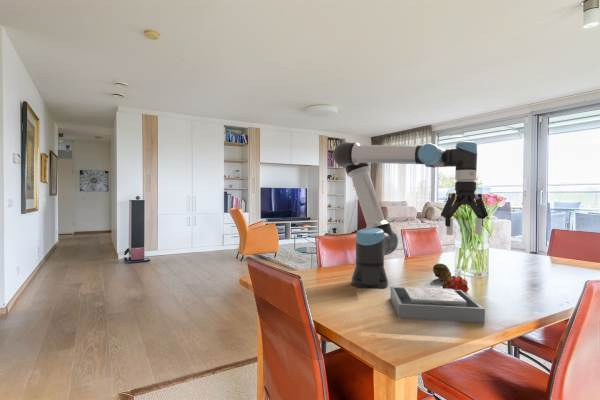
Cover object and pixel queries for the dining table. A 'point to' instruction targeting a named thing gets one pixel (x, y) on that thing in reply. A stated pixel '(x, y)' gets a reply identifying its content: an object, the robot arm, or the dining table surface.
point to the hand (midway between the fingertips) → (464, 234)
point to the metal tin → (432, 297)
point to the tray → (438, 309)
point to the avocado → (441, 271)
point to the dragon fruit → (455, 283)
